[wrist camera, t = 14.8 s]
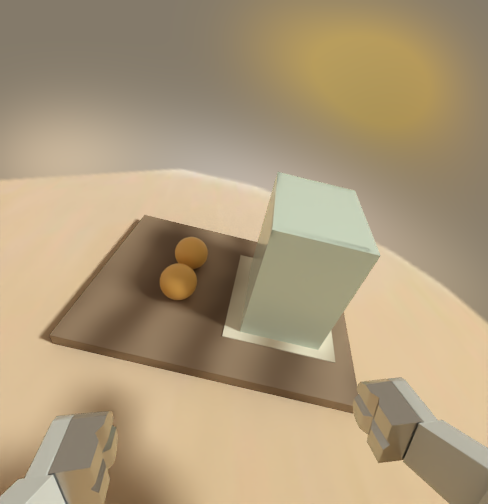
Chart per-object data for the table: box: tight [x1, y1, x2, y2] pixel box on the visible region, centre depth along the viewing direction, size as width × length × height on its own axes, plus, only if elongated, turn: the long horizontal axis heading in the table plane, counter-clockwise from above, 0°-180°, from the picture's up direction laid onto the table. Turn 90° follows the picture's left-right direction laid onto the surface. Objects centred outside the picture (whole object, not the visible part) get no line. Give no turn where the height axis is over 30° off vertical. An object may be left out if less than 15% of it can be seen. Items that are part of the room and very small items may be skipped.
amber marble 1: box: [175, 237, 208, 269], centre depth 26 cm, size 3×3×3 cm
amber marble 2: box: [160, 263, 197, 300], centre depth 23 cm, size 3×3×3 cm
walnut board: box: [49, 215, 358, 413], centre depth 26 cm, size 22×16×1 cm
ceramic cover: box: [240, 172, 380, 350], centre depth 23 cm, size 6×8×10 cm
